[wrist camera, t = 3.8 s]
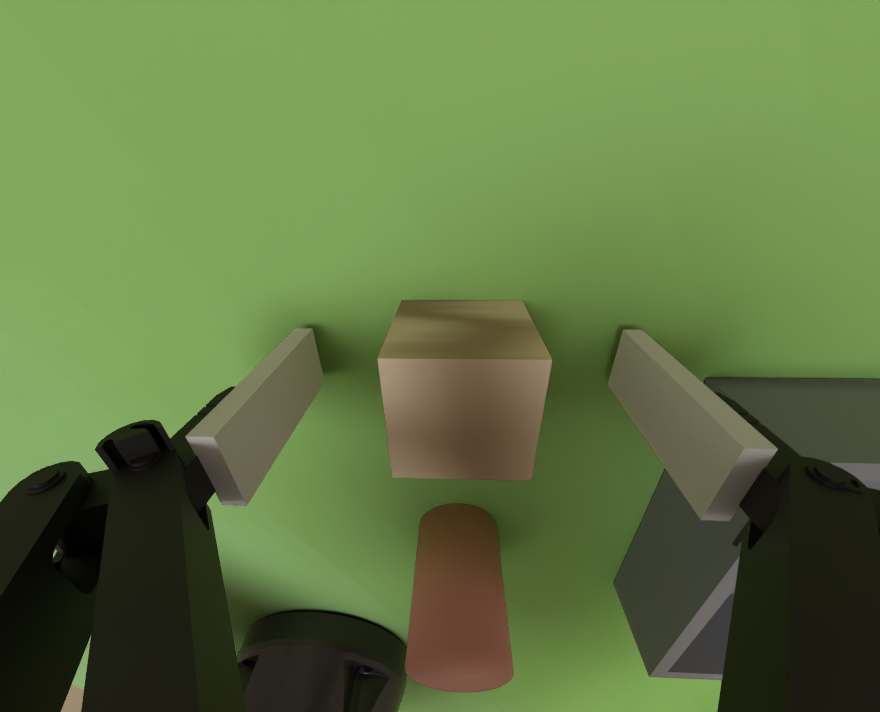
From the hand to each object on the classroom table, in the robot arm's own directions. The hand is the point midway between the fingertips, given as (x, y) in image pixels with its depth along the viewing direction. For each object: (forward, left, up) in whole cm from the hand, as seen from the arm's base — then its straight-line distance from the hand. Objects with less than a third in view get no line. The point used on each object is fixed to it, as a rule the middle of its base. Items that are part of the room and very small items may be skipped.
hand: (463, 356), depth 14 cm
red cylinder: (0, -13, -1) cm, 13 cm away
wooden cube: (0, 0, -1) cm, 1 cm away
